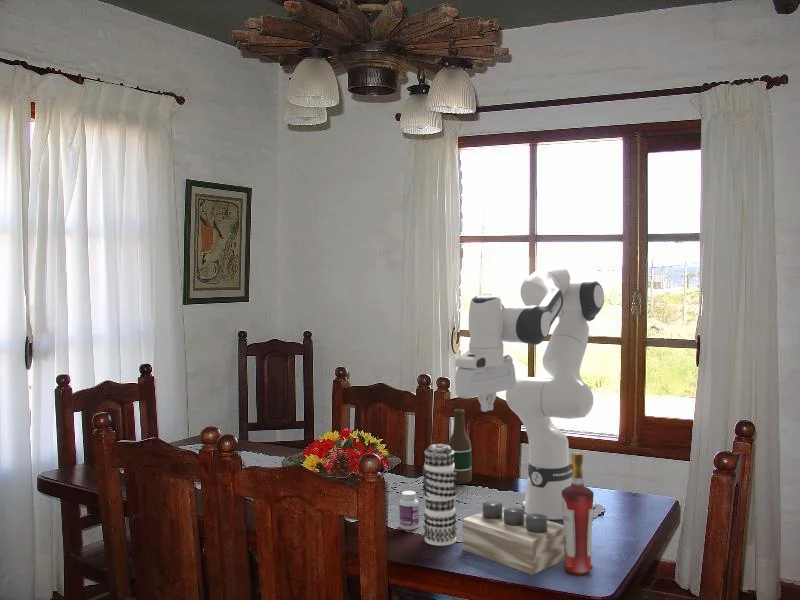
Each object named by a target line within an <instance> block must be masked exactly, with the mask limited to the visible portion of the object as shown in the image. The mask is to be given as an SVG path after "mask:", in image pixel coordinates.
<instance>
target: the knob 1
mask: <svg viewBox="0 0 800 600" xmlns="http://www.w3.org/2000/svg"><path fill="white" fill-rule="evenodd" d="M502 507H503V503H502V502H501V501H494V500H491V501H484V502H483V503H482V512H483V517H484V518H487V519H499V518H502Z"/></svg>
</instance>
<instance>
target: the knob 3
mask: <svg viewBox="0 0 800 600" xmlns="http://www.w3.org/2000/svg"><path fill="white" fill-rule="evenodd" d="M547 521H548V519H547V516H545V515H542V514H529V515H528V514H527V516H526V530H527V531H529V532H533V533H543V532H546V531H547Z"/></svg>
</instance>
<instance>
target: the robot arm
mask: <svg viewBox="0 0 800 600" xmlns="http://www.w3.org/2000/svg"><path fill="white" fill-rule="evenodd" d="M570 275H571V274H570V273H569V271H568V270H567V268H565V267H564V266H563V265H560V264H558V263H551V264H547V265H545V266H543V267H541V268H539V269H537V270H535V271H534V272H532V273H531V274H529V275H528V276H527V277H526V278H525V280H523V282H522V284H521V287H520V297H521V301H522V302H523V304H524V305H506V304H504V303H502V301H501V297H500V296H499V295H498V294H494V293H484V294H479V295H476V296H473V298H471V301H470V303H469V310H468V333H469V336H470V339H469V344H468V350H466V352H465V353H463V354H461V355H460V356H459V357H457V358H455V361H454V363H455V364H454V365H455V367H456V368H457V369H456V371H455V377H454V379H455V380H454V381H455V382H454V383H455V387H454V389H455V394H456V396H457V397H458V398H460V399H466V400H467V399H472V398H476V397H477V400H478V402H479V404H480V411H481V412H485V413H486V412H490V411H493V410H494V403H495V400H496V397H497V393H499V392H504V391H505V400H506V404H507V406H508V407H509V409H510V410H511V411H512V412H513V413H515V414H516V416H517V417H518V418H519V419H520V421H521V422H522V424H523V426H524V428H525V431H526V434H527V438H528V447H529V448H528V449H529V462H528V464H527V465H528V466H527V474H528V476H529V477H528V478H527V479H526V485H525V486H526V487H525V495H524V500H523V501H522V507H524V509H523V510H524V514H527V515H529V514H542V515H545V516H547V520H563V511H562V490H563V489H565V488H566V487H568V486H571V479H572V468H573V466H572V461H571V462H570V463H569V439H568V437H567V435H566V433H565V432H564V431H562V430H560V429H559V428H557V427H556V425H555V424H554V423H553V421H552V420H551V418H559V419H567V420H569V419H571V420H573V419H581V418H585V417H587V416H588V415H589V413H590V412H591V411H592V408H593V405H594V394H593V391H592V389H591V387H589V385H588V384H586V382H584V381H583V379H582V378H581V375H580V374H581V373H580V370H581V366H582V363H583V359H584V356H585V352H586V349H587V345H588V342H589V341H588V340H589V335H590V334H589V332H590V328H589V327H590V326H589V323H588V322H593V321H594V320H595V318H596V316H597V315H598V314H599V313H600V312H601V310H602V308H603V306H604V303H605V293H604V289H603V286H602V285H601V284H600V283H599V281H596V280H593V279H584V280H580V279H576V280H575V279H573V280H571V276H570ZM556 318H558V323H557V324H556V326H555V328H554V329H553V331H552V333H551V336H550V339H549V341H548V343H547V346H546V348H545V351H544V354H543V357H542V366H543V369H544V370H545V371H546V372H547V373H548V374H549V375H550V376H551V377H552V378H551V377H550V378H546V377H545V378H544V377H536V376H535V377H534V376H533V377H532V376H527V377H520V378H519V377H518V378H517V377H516V369H515V365H514V363H513V361H514V360H513V358H512V356H511V355H509V353H506V354H504V342H506V343H520V344H521V343H524V344H527V345H528V344H529V345H535V346H537V345H539V344H541V343H542V342H544V341H545V339H546V338H548V335H549V333H550V330H551V327H552V325H553V324H554V322H555V321H556ZM594 508H596V502H594V501H593V509H594Z"/></svg>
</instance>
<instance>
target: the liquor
mask: <svg viewBox="0 0 800 600" xmlns="http://www.w3.org/2000/svg"><path fill="white" fill-rule="evenodd" d="M571 462H572V466H573V468H572V469H571V471H572V479H571V486H568V487H566V488H565V489H563V490H562V511H563V519H562V521H563V522H562V523H563V524H562V525H564V544H565V560H564V561H563V563H562V565H563V567H564V569H565V570H566V571H567V572H569V574H571V575H575V576H585V575H587V574H588V573H589V572H591V571H592V569H593V568H594V566H593V563H592V543H591V541H592V536H593V534H592V533H593V519H594V518H593V517H594V508H593V502H594V495H595V494H594V491H593V490H592V489H590V487H587V486H585V483H584V473H583V471H584V470H583V465H584V453H583V452H576V451H575V452H571Z"/></svg>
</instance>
